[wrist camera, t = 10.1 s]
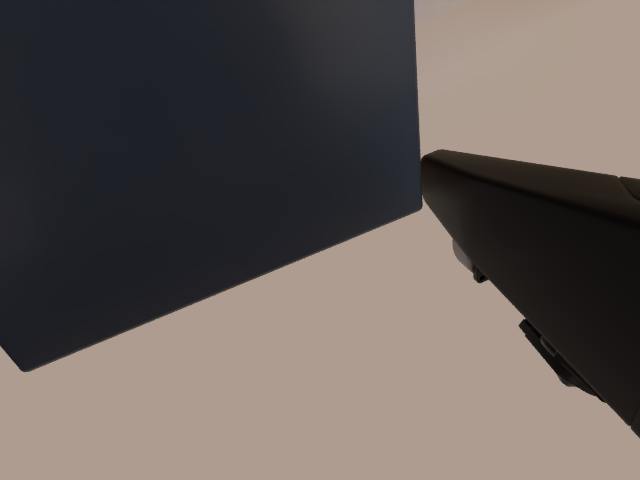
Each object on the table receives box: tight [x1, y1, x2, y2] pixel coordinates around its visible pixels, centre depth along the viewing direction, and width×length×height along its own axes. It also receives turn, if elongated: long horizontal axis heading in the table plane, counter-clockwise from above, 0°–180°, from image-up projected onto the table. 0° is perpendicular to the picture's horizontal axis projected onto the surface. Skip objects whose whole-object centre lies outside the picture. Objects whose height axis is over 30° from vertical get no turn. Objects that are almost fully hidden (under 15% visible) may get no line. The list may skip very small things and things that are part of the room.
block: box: [0, 0, 422, 372], centre depth 5 cm, size 4×4×4 cm
